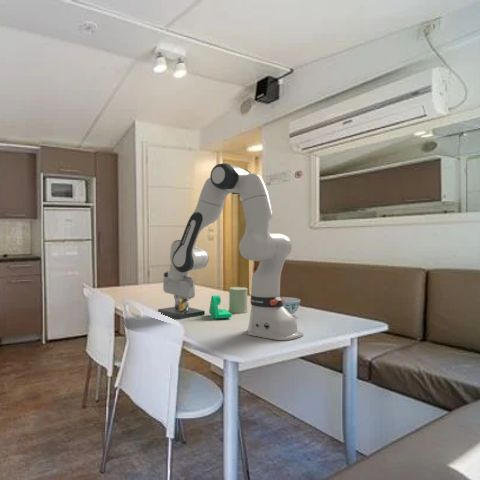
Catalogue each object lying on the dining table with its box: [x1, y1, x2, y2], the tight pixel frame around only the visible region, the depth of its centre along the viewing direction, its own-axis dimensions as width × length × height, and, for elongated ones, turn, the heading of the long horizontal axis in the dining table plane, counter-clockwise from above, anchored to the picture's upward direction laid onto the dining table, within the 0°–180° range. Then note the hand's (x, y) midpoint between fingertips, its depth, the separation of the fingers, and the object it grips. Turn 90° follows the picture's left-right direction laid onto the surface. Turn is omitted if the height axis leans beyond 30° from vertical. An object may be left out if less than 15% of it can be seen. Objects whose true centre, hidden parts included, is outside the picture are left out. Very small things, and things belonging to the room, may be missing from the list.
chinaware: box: [281, 296, 301, 315], centre depth 194 cm, size 15×15×8 cm
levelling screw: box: [179, 297, 192, 311], centre depth 191 cm, size 12×6×7 cm, turn 177°
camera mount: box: [208, 295, 233, 320], centre depth 190 cm, size 12×8×10 cm, turn 18°
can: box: [228, 286, 248, 314], centre depth 204 cm, size 9×9×12 cm
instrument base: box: [157, 303, 206, 320], centre depth 196 cm, size 18×14×8 cm
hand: (178, 305), depth 189 cm, fingers closed
